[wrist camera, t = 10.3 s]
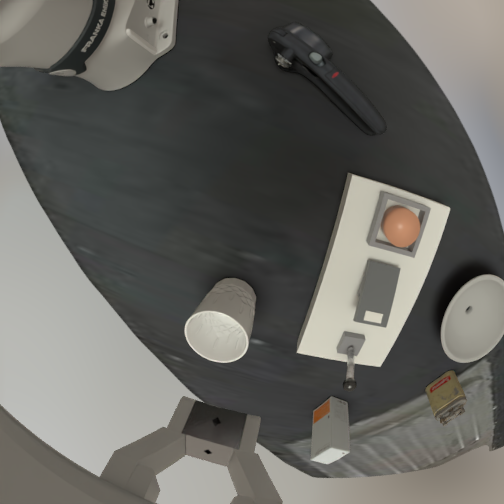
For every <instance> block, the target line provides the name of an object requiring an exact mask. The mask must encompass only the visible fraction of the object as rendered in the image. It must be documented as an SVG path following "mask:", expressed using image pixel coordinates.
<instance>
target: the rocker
mask: <svg viewBox="0 0 504 504" xmlns="http://www.w3.org/2000/svg"><path fill="white" fill-rule="evenodd" d="M400 269H401V268H398V267H394V266H390V265H386V264H382V263H379V262H375V261H371V260H367V265H366V269H365V274H364V278H363V283H362V287H361V291H360V295H359V299H358V303H357V307H356V311H355V315H354V318H353V321H355V322H359V323H364V324H369V325H374V326H380V327H385V328H386V327H387V323H388V320H389V316H390V312H391V308H392V304H393V300H394V296H395V292H396V287H397V283H398V278H399V274H400Z"/></svg>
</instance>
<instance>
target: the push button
mask: <svg viewBox="0 0 504 504" xmlns="http://www.w3.org/2000/svg"><path fill="white" fill-rule="evenodd" d="M381 230H382V232H383V234H384V235H385V237H386V238H387V239H388V240H389V241H390V242H391V243H392V244H393V245H395V246H397V247H407V246H409V245H411V244H412V243H413V242H414V241H415V240H416V239H417V237H418V235H419V232H420V222H419V219H418V217H417V216H416V215H415V214H414V213H413V212H412V211H410V210H409V209H407V208H405V207H403V206H400V205H395V206H392V207H390V208H388V209H387V210H386V211H385V212H384V215H383V218H382V221H381Z"/></svg>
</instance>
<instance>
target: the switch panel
mask: <svg viewBox="0 0 504 504" xmlns="http://www.w3.org/2000/svg"><path fill="white" fill-rule="evenodd" d="M395 205H400V206H403V207H405V208H407V209H409V210H410V211H412V212H413V213H414V214H415V215H416V216H417V217H418V219H419V222H420V232H419V235H418V237H417V239H416V240H415V241H414V242H413V243H412V244H411V245H409V246H407V247H397V246H395V245H393V244H392V243H391V242H390V241H389V240H388V239H387V238H386V237H385V235H384V234H383V232H382V230H381V221H382V218H383V215H384V212H385V211H386V210H387V209H388V208H390V207H392V206H395ZM449 211H450V208H449V207H447V206H445V205H443V204H441V203H438V202H436V201H433V200H431V199H428V198H425V197H422V196H420V195H417V194H414V193H411V192H409V191H406V190H403V189H400V188H397V187H394V186H391V185H388V184H385V183H381V182H378V181H375V180H372V179H369V178H365V177H362V176H358V175H355V174H352V173H348V175H347V179H346V183H345V187H344V191H343V195H342V199H341V203H340V207H339V211H338V214H337V218H336V222H335V225H334V229H333V232H332V236H331V239H330V243H329V246H328V250H327V253H326V256H325V260H324V263H323V266H322V269H321V273H320V276H319V279H318V282H317V285H316V288H315V291H314V294H313V298H312V301H311V303H310V306H309V309H308V312H307V315H306V318H305V321H304V324H303V327H302V329H301V332H300V335H299V338H298V341H297V353H301V354H306V355H311V356H316V357H321V358H327V359H332V360H338V361H344V362H347V355H348V349H349V348H350V347H353V348H354V350H355V356H354V363H357V364H363V365H370V366H378V367H380V366H381V365H382V363H383V361H384V360H385V358H386V356H387V355H388V353H389V351H390V349H391V348H392V346H393V344H394V342H395V340H396V338H397V337H398V335H399V333H400V331H401V329H402V327H403V325H404V323H405V321H406V319H407V317H408V315H409V313H410V311H411V309H412V307H413V305H414V303H415V301H416V299H417V296H418V294H419V292H420V290H421V287H422V285H423V283H424V281H425V278H426V276H427V273H428V271H429V268H430V266H431V263H432V261H433V258H434V256H435V253H436V250H437V248H438V245H439V242H440V239H441V236H442V233H443V230H444V227H445V224H446V221H447V218H448V215H449ZM367 260H371V261H375V262H379V263H382V264H386V265H390V266H394V267H398V268H401V269H400V274H399V278H398V283H397V287H396V292H395V296H394V300H393V304H392V308H391V312H390V316H389V320H388V323H387V327H386V328H385V327H380V326H374V325H369V324H364V323H359V322H355V321H353V318H354V315H355V311H356V307H357V303H358V299H359V295H360V291H361V287H362V283H363V278H364V274H365V269H366V265H367Z"/></svg>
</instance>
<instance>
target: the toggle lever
mask: <svg viewBox="0 0 504 504" xmlns="http://www.w3.org/2000/svg"><path fill="white" fill-rule="evenodd" d="M354 356H355V350H354V348H353V347H350V348H349V349H348V355H347V376H346V380H345V381H344V382H343V388H344V389H345V390H346V391H352V390H354V389H355V387H356V381H355V380H354Z"/></svg>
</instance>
